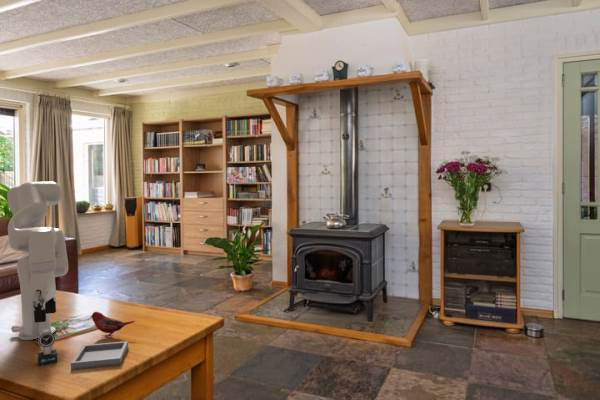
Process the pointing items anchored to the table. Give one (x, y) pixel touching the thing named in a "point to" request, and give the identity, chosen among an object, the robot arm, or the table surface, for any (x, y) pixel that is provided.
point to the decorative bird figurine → (107, 323)
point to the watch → (47, 348)
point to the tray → (100, 355)
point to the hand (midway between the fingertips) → (45, 317)
